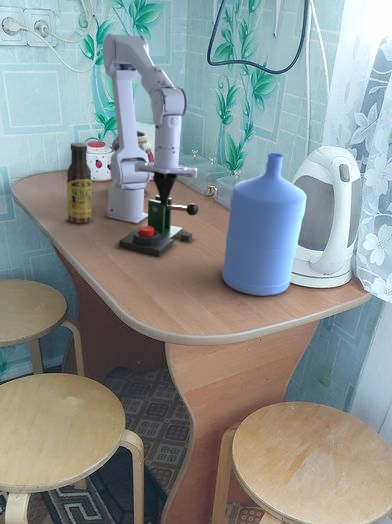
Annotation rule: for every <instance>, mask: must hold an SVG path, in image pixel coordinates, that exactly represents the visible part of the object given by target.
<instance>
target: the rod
mask: <svg viewBox="0 0 392 524" xmlns="http://www.w3.org/2000/svg"><path fill="white" fill-rule="evenodd" d="M156 201H160V200H156ZM167 209H169V210H171V211H179V212H186V213H187V215H188V216H192V217H193V216H195V215H197V214H198V212H199V207H198V205H197V204H195V203H193V202H192V203H189V204H188V205H178V204H172V205H169V204H167V206H165V211H166V210H167Z"/></svg>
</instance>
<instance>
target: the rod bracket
mask: <svg viewBox="0 0 392 524" xmlns="http://www.w3.org/2000/svg"><path fill="white" fill-rule="evenodd" d="M156 200H160V196H159V194H156V195H155V197H154V199H151V198H149V199H148V200H147V201H148V202H147V214H148V216H147V222H145V223H144V224H142V225H141V226H151V227H153V228H154V230H156V231H158V232H159V234H160V237H163V238H167V239H172V240H173V241H174V240H175V239H177V237H179V236H181V234H182V233H183V232H184V228H183V227H181V226H176V225H172V210H169V209H167V210H166V211H165V206H162V205H161V201H156ZM168 204H169V205H173V198H172V197H169V199H168ZM141 226H139V227H138V228H136V229H135V230H137V229H139V228H140V227H141Z"/></svg>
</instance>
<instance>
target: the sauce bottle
mask: <svg viewBox="0 0 392 524" xmlns="http://www.w3.org/2000/svg"><path fill="white" fill-rule="evenodd" d="M70 151H71V160H70V161H71V163H70V164H69V167H68V169H67V175H66V176H67V180H66V187H67V193H66V194H67V215H68V218H67V219H68V220H69V222H70V223H74V224H85V223H86V224H87V223H89V222H90V221H91V219H92V173H91V172H92V171H91V168H90V166H89V164H88V160H87V152H88V145H87V144H86V143H83V142H72V143H70Z"/></svg>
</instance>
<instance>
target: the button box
mask: <svg viewBox="0 0 392 524" xmlns="http://www.w3.org/2000/svg"><path fill="white" fill-rule="evenodd" d="M136 229H137V230H136ZM136 229H135V230H132V231H131V232H130V233H128V234H127V235H125V236H124V237H123V238H121V239H120V240H118V243H119V244H118V247H119V248H120V249H125V250H130V251H133V252H138V253H141V254H144V255H145V254H146V255H150V256H153V257H158V258H160V257H161V256H162V255H163V254H164V253H166V252H167V251H168V250H169V249H171V248H172V247H173V244H174V239H173V240H172V239H167V238H163V237H160V234H159V232H158V231H156V230H154V236H151V237H144V236H140V235H139V229H138V228H136Z"/></svg>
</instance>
